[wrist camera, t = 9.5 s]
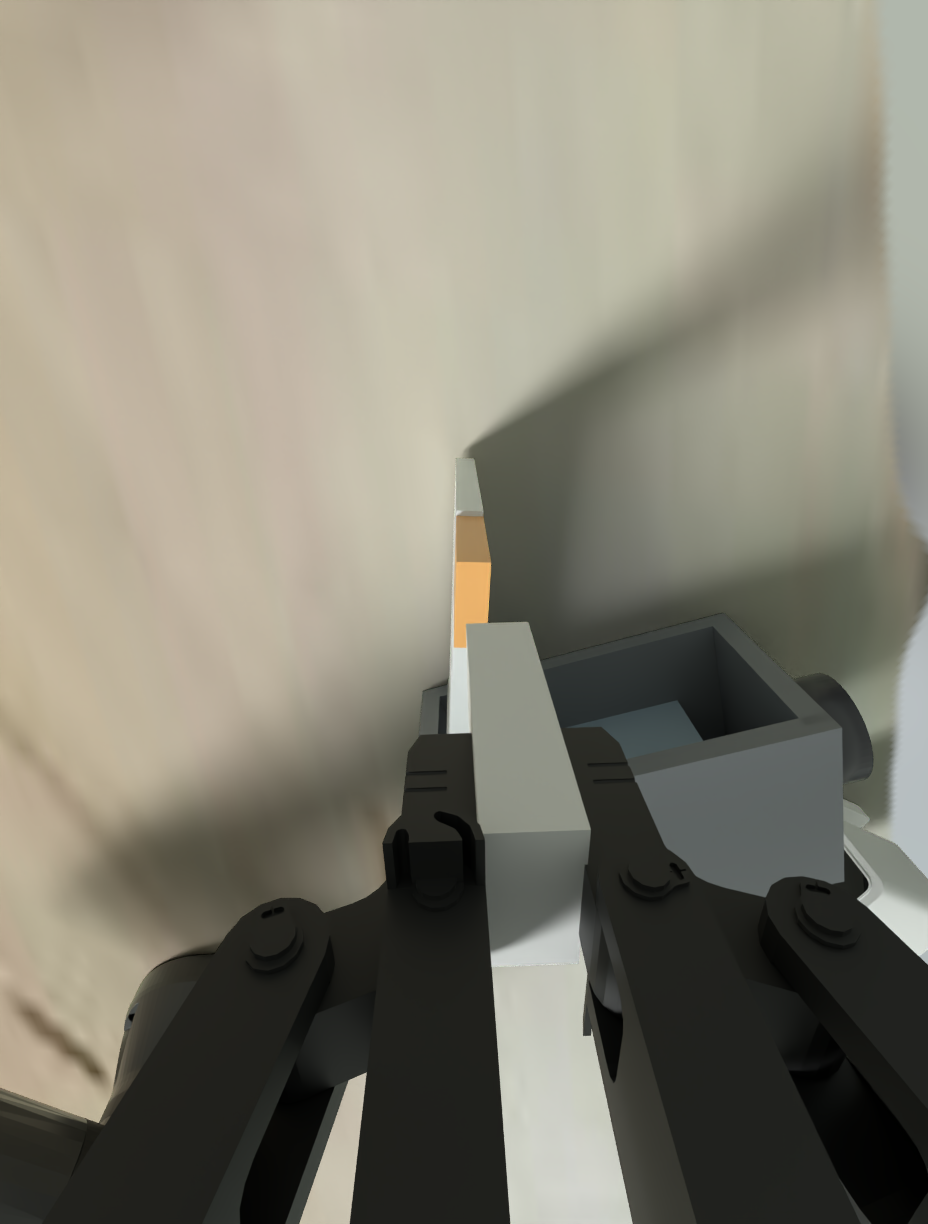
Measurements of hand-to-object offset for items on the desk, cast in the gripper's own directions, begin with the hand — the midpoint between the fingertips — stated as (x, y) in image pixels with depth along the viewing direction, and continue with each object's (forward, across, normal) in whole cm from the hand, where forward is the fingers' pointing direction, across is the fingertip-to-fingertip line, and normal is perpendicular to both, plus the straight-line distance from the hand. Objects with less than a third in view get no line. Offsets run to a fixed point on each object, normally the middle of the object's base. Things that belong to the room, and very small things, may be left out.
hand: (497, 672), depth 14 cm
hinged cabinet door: (+20, +1, +5) cm, 20 cm away
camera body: (+20, -9, +15) cm, 27 cm away
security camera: (+20, -25, +25) cm, 41 cm away
